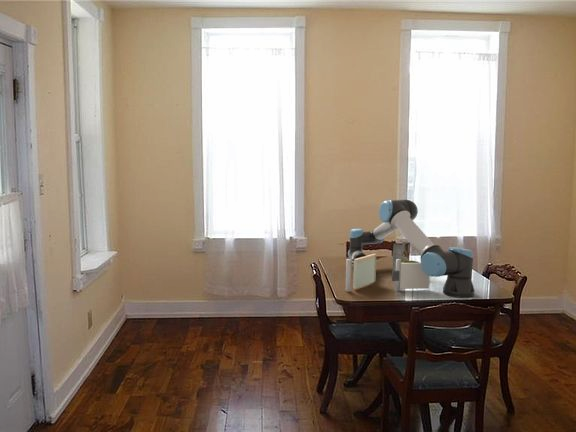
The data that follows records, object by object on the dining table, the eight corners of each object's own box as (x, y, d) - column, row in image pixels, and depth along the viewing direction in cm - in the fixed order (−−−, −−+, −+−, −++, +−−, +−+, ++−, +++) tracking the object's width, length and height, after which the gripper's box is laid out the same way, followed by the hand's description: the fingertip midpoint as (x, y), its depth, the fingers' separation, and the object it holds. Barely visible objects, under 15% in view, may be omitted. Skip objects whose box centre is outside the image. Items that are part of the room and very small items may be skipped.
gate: (355, 288, 289) (356, 259, 287) (353, 288, 290) (354, 259, 288) (375, 281, 304) (376, 254, 302) (372, 281, 305) (374, 253, 303)
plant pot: (419, 279, 314) (419, 264, 313) (401, 278, 316) (402, 263, 315) (418, 276, 323) (419, 261, 322) (401, 275, 325) (402, 260, 324)
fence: (429, 291, 291) (431, 260, 289) (346, 292, 285) (347, 260, 283) (427, 289, 294) (428, 258, 292) (344, 290, 289) (345, 259, 287)
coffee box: (399, 267, 345) (400, 240, 343) (409, 269, 341) (410, 242, 338) (391, 269, 338) (393, 242, 336) (401, 271, 334) (402, 244, 332)
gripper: (370, 264, 332) (381, 274, 309) (348, 265, 331) (358, 274, 307) (370, 252, 331) (382, 260, 308) (348, 252, 330) (358, 260, 306)
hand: (370, 267), depth 308 cm, fingers closed
